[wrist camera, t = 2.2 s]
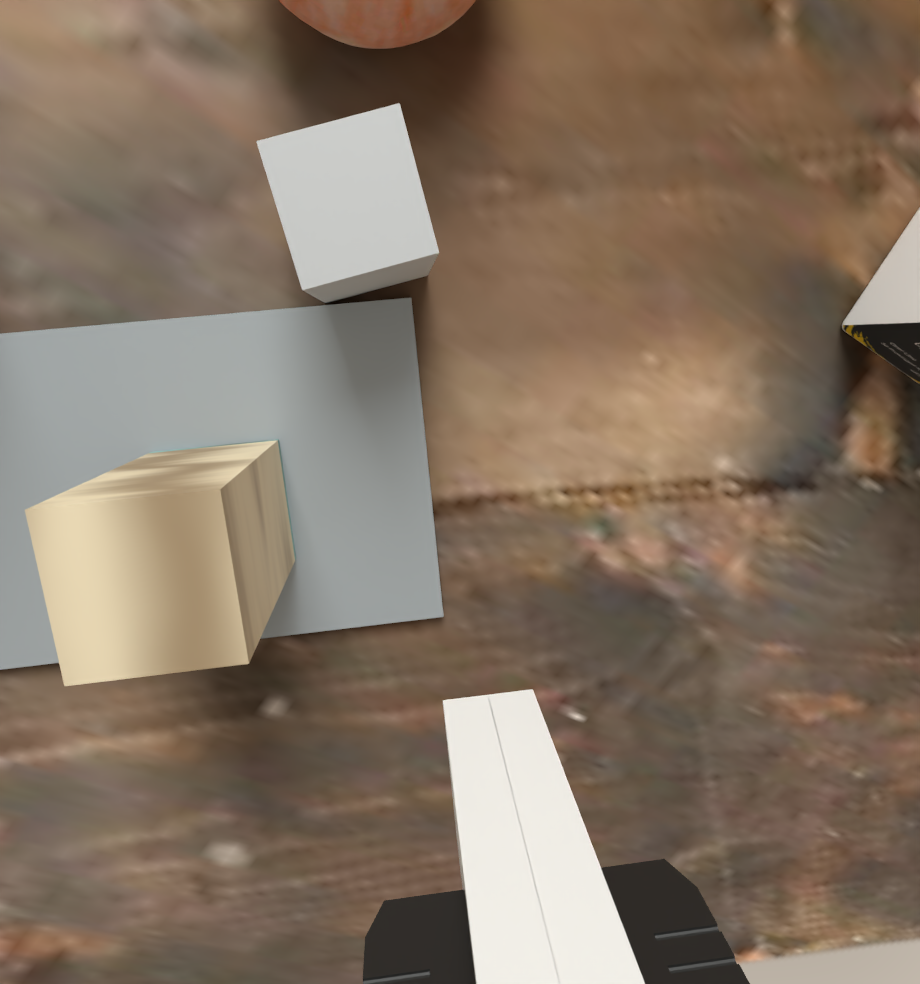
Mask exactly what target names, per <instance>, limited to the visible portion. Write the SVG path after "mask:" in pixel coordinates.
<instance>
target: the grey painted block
mask: <svg viewBox="0 0 920 984" xmlns="http://www.w3.org/2000/svg"><path fill="white" fill-rule="evenodd" d="M256 142H257V145H258V148H259V151H260V155H261V158H262V161H263V164H264V168H265V171H266V174H267V177H268V181H269V184H270V187H271V190H272V194H273V197H274V200H275V203H276V207H277V210H278V213H279V216H280V220H281V223H282V226H283V229H284V233H285V236H286V239H287V242H288V245H289V249H290V252H291V255H292V258H293V262H294V265H295V268H296V271H297V275H298V278H299V281H300V284H301V288H302V290H303V291H305V292H306V293H308V294H310V295H312V296H313V297H315V298H317V299H319V300H321V301H322V302H324V303H330V302H334V301H337V300H341V299H345V298H348V297H352V296H356V295H359V294H363V293H366V292H370V291H374V290H377V289H381V288H385V287H388V286H392V285H396V284H399V283H403V282H407V281H410V280H414V279H417V278H421V277H425V276H428V274H429V272H430V270H431V268H432V266H433V264H434V262H435V260H436V258H437V256H438V254H439V250H438V247H437V243H436V239H435V235H434V231H433V228H432V224H431V220H430V216H429V212H428V209H427V205H426V201H425V197H424V193H423V190H422V186H421V182H420V178H419V174H418V171H417V167H416V163H415V159H414V155H413V152H412V148H411V144H410V140H409V136H408V133H407V129H406V125H405V121H404V118H403V114H402V110H401V106H400V103H398V104H394V105H390V106H387V107H383V108H379V109H375V110H372V111H368V112H364V113H360V114H357V115H353V116H349V117H345V118H342V119H338V120H334V121H330V122H327V123H323V124H319V125H315V126H312V127H308V128H304V129H300V130H297V131H293V132H289V133H285V134H282V135H278V136H274V137H270V138H267V139H263V140H259V141H256Z"/></svg>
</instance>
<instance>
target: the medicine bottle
mask: <svg viewBox="0 0 920 984" xmlns="http://www.w3.org/2000/svg"><path fill="white" fill-rule="evenodd" d="M842 329H843V330H844V331H845V332H846V333H848V334H849V335H850V336H852V337H853V338H855V339H856V340H857V341H859V342H860V343H862V344H863V345H865V346H866V347H867V348H869V349H870V350H872V351H873V352H874V353H876V354H877V355H879V356H880V357H882V358H883V359H884V360H886V361H887V362H889V363H890V364H892V365H893V366H894V367H896V368H897V369H899V370H900V371H901V372H903V373H904V374H906V375H907V376H909V377H910V378H911V379H913V380H914V381H916V382H917V383H918V384H920V208H919V209H918V210H917V212H916V213H915V215H914V216H913V218H912V219H911V221H910V222H909V224H908V225H907V227H906V228H905V230H904V231H903V233H902V234H901V236H900V237H899V239H898V240H897V242H896V243H895V245H894V246H893V248H892V249H891V251H890V252H889V254H888V255H887V257H886V258H885V260H884V261H883V263H882V264H881V266H880V267H879V269H878V270H877V272H876V273H875V275H874V276H873V278H872V279H871V281H870V282H869V284H868V285H867V287H866V288H865V290H864V291H863V293H862V294H861V296H860V297H859V299H858V300H857V302H856V303H855V305H854V306H853V308H852V309H851V311H850V312H849V314H848V315H847V317H846V318H845V320H844V321H843V323H842Z"/></svg>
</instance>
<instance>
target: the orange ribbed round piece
mask: <svg viewBox="0 0 920 984" xmlns="http://www.w3.org/2000/svg"><path fill="white" fill-rule="evenodd" d="M279 1H280V2H281V4H282V5H284V6H285V7H286V8H287V9H288V10H290V11H291V12H292V13H293V14H294V15H295V16H297V17H298V18H299V19H300V20H302V21H304V22H305V23H307V24H308V25H310V26H311V27H313V28H315V29H316V30H318V31H319V32H321V33H322V34H324V35H326V36H328V37H330V38H332V39H334V40H337V41H339V42H342V43H345V44H348V45H351V46H356V47H362V48H370V49H389V48H395V47H402V46H405V45H409V44H413V43H416V42H420V41H422V40H425V39H427V38H430V37H433V36H435V35H437V34H438V33H440V32H442V31H443V30H445V29H446V28H448V27H449V26H451V25H452V24H453V23H454V22H455V21H457V20H458V19H459V18H460V17H462V16H463V15H464V14H465V13H466V11H467V10H468V9H469V8H470V7H471V6H472V5H473V4H474V2H475V1H476V0H279Z"/></svg>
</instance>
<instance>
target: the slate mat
mask: <svg viewBox="0 0 920 984" xmlns="http://www.w3.org/2000/svg"><path fill="white" fill-rule="evenodd" d="M276 439H279V443H280V450H281V456H282V463H283V470H284V477H285V484H286V491H287V498H288V505H289V512H290V519H291V526H292V532H293V539H294V546H295V553H296V560H295V562H294V564H293V567H292V569H291V571H290V573H289V576H288V578H287V580H286V582H285V585H284V587H283V589H282V591H281V593H280V596H279V598H278V600H277V602H276V605H275V607H274V609H273V611H272V613H271V616H270V618H269V620H268V622H267V625H266V627H265V629H264V631H263V634H262V636H261V638H260V639H262V638H271V637H279V636H287V635H296V634H304V633H312V632H321V631H329V630H338V629H346V628H354V627H363V626H371V625H380V624H388V623H396V622H405V621H413V620H421V619H430V618H438V617H443V607H442V597H441V587H440V577H439V567H438V557H437V547H436V537H435V528H434V518H433V508H432V498H431V488H430V478H429V468H428V458H427V448H426V438H425V428H424V418H423V409H422V399H421V389H420V379H419V369H418V359H417V349H416V339H415V329H414V319H413V309H412V300H411V298H401V299H390V300H378V301H367V302H356V303H344V304H333V305H322V306H310V307H299V308H287V309H276V310H265V311H253V312H242V313H231V314H219V315H208V316H196V317H185V318H174V319H162V320H151V321H140V322H128V323H117V324H106V325H94V326H83V327H71V328H60V329H49V330H37V331H26V332H15V333H3V334H0V670H2V669H11V668H19V667H27V666H36V665H44V664H53V663H59V660H58V655H57V651H56V647H55V642H54V638H53V633H52V629H51V624H50V620H49V616H48V611H47V607H46V602H45V598H44V593H43V589H42V585H41V580H40V576H39V571H38V567H37V562H36V558H35V553H34V549H33V545H32V540H31V536H30V531H29V527H28V522H27V518H26V514H25V509H28V508H30V507H32V506H34V505H36V504H39V503H41V502H43V501H45V500H47V499H49V498H52V497H54V496H56V495H58V494H60V493H63V492H65V491H67V490H69V489H71V488H74V487H76V486H78V485H80V484H82V483H85V482H87V481H89V480H91V479H93V478H95V477H98V476H100V475H102V474H104V473H106V472H109V471H111V470H113V469H115V468H117V467H120V466H122V465H124V464H126V463H128V462H130V461H133V460H135V459H137V458H139V457H141V456H144V455H146V454H148V453H150V452H156V451H166V450H176V449H186V448H196V447H206V446H216V445H226V444H236V443H246V442H256V441H266V440H276Z"/></svg>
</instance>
